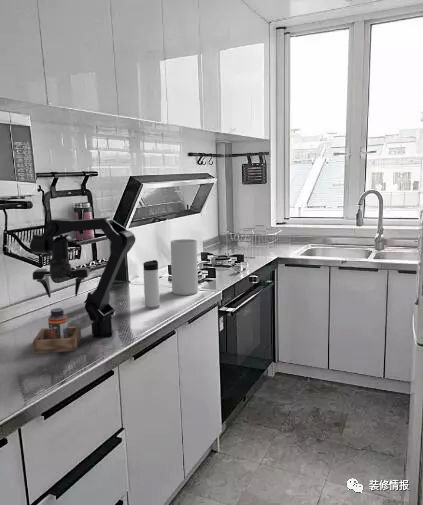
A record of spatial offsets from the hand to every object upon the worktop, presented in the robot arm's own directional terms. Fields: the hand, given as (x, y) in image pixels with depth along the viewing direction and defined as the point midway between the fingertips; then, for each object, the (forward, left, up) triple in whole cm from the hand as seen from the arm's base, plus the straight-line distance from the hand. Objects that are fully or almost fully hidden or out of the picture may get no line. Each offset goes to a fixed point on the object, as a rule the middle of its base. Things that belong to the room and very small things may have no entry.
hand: (63, 296), depth 166 cm
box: (0, +14, -13) cm, 19 cm away
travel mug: (-32, -26, -13) cm, 43 cm away
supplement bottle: (0, +14, -12) cm, 19 cm away
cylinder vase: (-48, -49, -13) cm, 70 cm away
